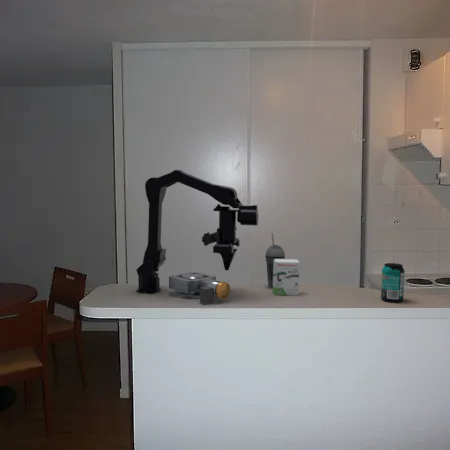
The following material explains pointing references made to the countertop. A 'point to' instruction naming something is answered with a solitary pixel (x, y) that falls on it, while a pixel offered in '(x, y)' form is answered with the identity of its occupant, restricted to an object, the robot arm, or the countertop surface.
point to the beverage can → (392, 282)
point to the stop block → (206, 295)
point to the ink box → (286, 277)
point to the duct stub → (187, 295)
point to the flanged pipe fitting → (199, 284)
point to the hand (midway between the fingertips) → (226, 270)
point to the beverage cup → (272, 254)
